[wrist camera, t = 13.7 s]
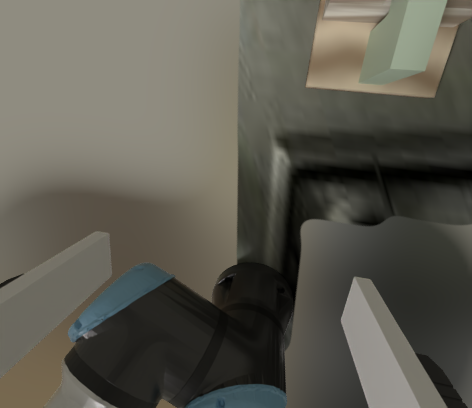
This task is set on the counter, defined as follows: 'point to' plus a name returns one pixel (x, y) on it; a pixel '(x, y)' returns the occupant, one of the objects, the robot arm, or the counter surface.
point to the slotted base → (355, 43)
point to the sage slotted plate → (402, 41)
